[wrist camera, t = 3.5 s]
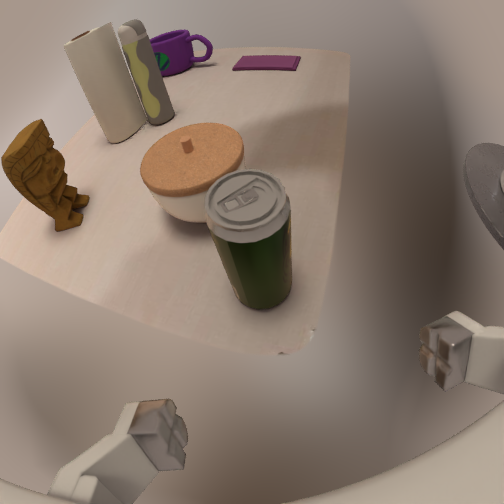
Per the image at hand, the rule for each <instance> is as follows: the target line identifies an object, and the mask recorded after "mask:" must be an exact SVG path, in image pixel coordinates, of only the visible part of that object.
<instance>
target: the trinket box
mask: <svg viewBox="0 0 504 504" xmlns="http://www.w3.org/2000/svg"><path fill="white" fill-rule="evenodd" d="M244 169H245V157H244V145H243V141H242V138H241V136H240V135H239V133H238V132H236V131H235V130H234V129H232V128H231V127H229V126H226V125H223V124H218V123H199V124H193V125H189V126H185V127H182V128H180V129H177V130H175V131H173V132H171V133H169V134H167V135H165V136H164V137H162V138H161V139H159V140H158V141H157V142H156V143H155V144H153V146H152V147H151V148H150V149H149V150H148V151H147V153H146V154H145V156H144V158H143V160H142V163H141V168H140V173H141V177H142V179H143V181H144V183H145V185H146V186H147V187H148V188H149V190H150V192H151V193H152V195H153V197H154V198H155V199H156V201H157V202H158V203H159V205H160V206H161V207H162V208H163V209H164V210H165V211H166V212H168V213H169V214H170V215H172V216H174V217H176V218H177V219H180V220H184V221H187V222H199V223H205V222H206V219H205V206H204V205H205V196H206V194H207V192H208V190H209V188H210V187H211V186H212V185H213V184H214V183H215V182H216V181H217V180H218V179H219V178H221V177H223V176H224V175H226V174H228V173H231V172H234V171H237V170H244Z"/></svg>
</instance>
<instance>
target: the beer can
mask: <svg viewBox="0 0 504 504" xmlns="http://www.w3.org/2000/svg"><path fill="white" fill-rule="evenodd" d="M204 206H205V219H206V222H207V225H208V228H209V230H210V233H211V236H212V238H213V241H214V243H215V246H216V248H217V251H218V253H219V256H220V258H221V260H222V263H223V265H224V268H225V270H226V273H227V275H228V278H229V280H230V283H231V285H232V287H233V290H234V292H235V295H236V297H237V298H238V299H239V300H240V301H241V302H242V303H243V304H245V305H247V306H248V307H251V308H256V309H267V308H271V307H273V306H276V305H278V304H279V303H280V302H282V301H283V300H284V299H285V298H286V296H287V295H288V293H289V292H290V288H291V284H292V261H291V210H290V202H289V197H288V196H287V194H286V193H285V187H284V186H283V184H282V183H281V181H280V180H279V179H278V178H277V177H275V176H274V175H273V174H271V173H268V172H266V171H263V170H257V169H244V170H237V171H234V172H231V173H228V174H226V175H224V176H223V177H221V178H219V179H218V180H217V181H216V182H215V183H214V184H213V185H212V186H211V187H210V188H209V190H208V192H207V194H206V196H205V205H204Z"/></svg>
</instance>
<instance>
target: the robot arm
mask: <svg viewBox="0 0 504 504" xmlns="http://www.w3.org/2000/svg"><path fill="white" fill-rule="evenodd" d="M500 183H501V187H502V190H503V193H504V170H503V171H502V173H501V175H500ZM419 337H420V338H419V339H420V340H421V341H422V343H423V344H422V345H421V347H420V349H419V361H420V364H421V367H422V368H423V370H424V371H425V372H426V373H427V374H428V375H432V376H435V382H436V383H437V384H438V385H439V386H440V387H441V388H442V389H443V390H444V391H445V392H446V391H448V390H449V389H451V388H453V387H455V386H457V385H458V384H460V383H462V382H464V381H465V383H469V384H472V385H475V386H478V387H481V388H485V389H488V390H491V391H495V392H498V393H502V394H504V327H500V326H487V327H484V326H482V325H481V324H479V323H477V322H475V321H474V320H472V319H471V318H469V317H467V316H466V315H464V314H462V313H460V312H459V311H454V312H452V313H450V314H448V315H446V316H445V317H443V318H441V319H439V320H437V321H435V322H433V323H431V324H429V325H427V326H425V327H422V328H421V330H420V335H419ZM176 409H177V408H176V406H175V404H174V402H173V401H172V400H171V399H161V400H150V401H139V402H129V403H127V404H125V406H124V408H123V411H122V413H121V415H120V417H119V420H118V422H117V424H116V427H115V429H114V431H113V434H109V435H107V436H106V437H104V438H103V439H101V440H100V441H99V442H97V443H96V444H95V445H93V446H92V447H91V448H89V449H88V450H86V451H85V452H84V453H82V454H81V455H79V456H78V457H77V458H75V459H74V460H72V461H71V462H69V463H68V464H67V465H65V466H64V467H62V468H61V469H59V471H58V473H57V475H56V477H55V479H54V481H53V483H52V485H51V488H50V490H49V492H48V494H47V495H45V494H42V493H39V492H35V491H32V490H29V489H26V488H23V487H21V486H18V485H15V484H13V483H10V482H8V481H5V480H3V479H0V504H133V503H134V501H135V500H136V499H137V498H138V497H139V496H140V494H141V493H142V492H143V491H144V490H145V489H146V487H147V486H148V485H149V484H150V483H151V482H152V480H153V479H154V478H155V477H156V476H157V474H158V473H159V471H170V470H183V469H184V464H185V457H186V454H185V452H184V450H183V448H184V447H185V446H186V445H187V442H188V433H187V428H186V425H185V422H184V421H183V419H182V417H180V416H178V415H176ZM282 504H504V400H503V401H502V402H501V403H500V404H498V405H497V406H496V407H495V408H493V409H492V410H491V411H489V412H488V413H486V414H485V415H484V416H483V417H481V418H480V419H478V420H477V421H475V422H474V423H472V424H471V425H470V426H468V427H467V428H465V429H464V430H462V431H460V432H459V433H457V434H456V435H454V436H452V437H451V438H449V439H448V440H446V441H444V442H443V443H441V444H439V445H437V446H436V447H434V448H432V449H430V450H428V451H427V452H425V453H423V454H421V455H419V456H417V457H415V458H413V459H411V460H409V461H407V462H405V463H403V464H401V465H399V466H396V467H394V468H392V469H390V470H388V471H385V472H383V473H380V474H378V475H376V476H373V477H371V478H368V479H365V480H363V481H360V482H358V483H354V484H352V485H349V486H346V487H343V488H340V489H337V490H333V491H330V492H327V493H323V494H320V495H316V496H312V497H308V498H304V499H301V500H296V501H292V502H287V503H282Z"/></svg>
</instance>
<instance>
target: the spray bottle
mask: <svg viewBox="0 0 504 504" xmlns="http://www.w3.org/2000/svg"><path fill="white" fill-rule="evenodd" d="M118 35H119V38H120V41H121V44H122V49H123V52H124V55H125V57H126V60H127V63H128V66H129V69H130V72H131V75H132V77H133V80H134V83H135V86H136V89H137V91H138V94H139V97H140V99H141V102H142V105H143V107H144V110H145V113H146V115H147V118H148V121H149V122H150V123H151V124H153V125H158V124H162V123H165V122H167V121H168V120H170V119H171V118H172V117H173V115H174V110H173V107H172V104H171V101H170V98H169V96H168V93H167V90H166V87H165V84H164V81H163V78H162V76H161V73H160V70H159V67H158V64H157V61H156V58H155V55H154V52H153V49H152V46H151V43H150V40H149V37H148V35H147V33H146V29H145V27H144V25H143V24H142V22H141V21H139V20H131V21H129V22H126V23H124V24H123V25H122V26H120V28H119V29H118Z"/></svg>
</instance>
